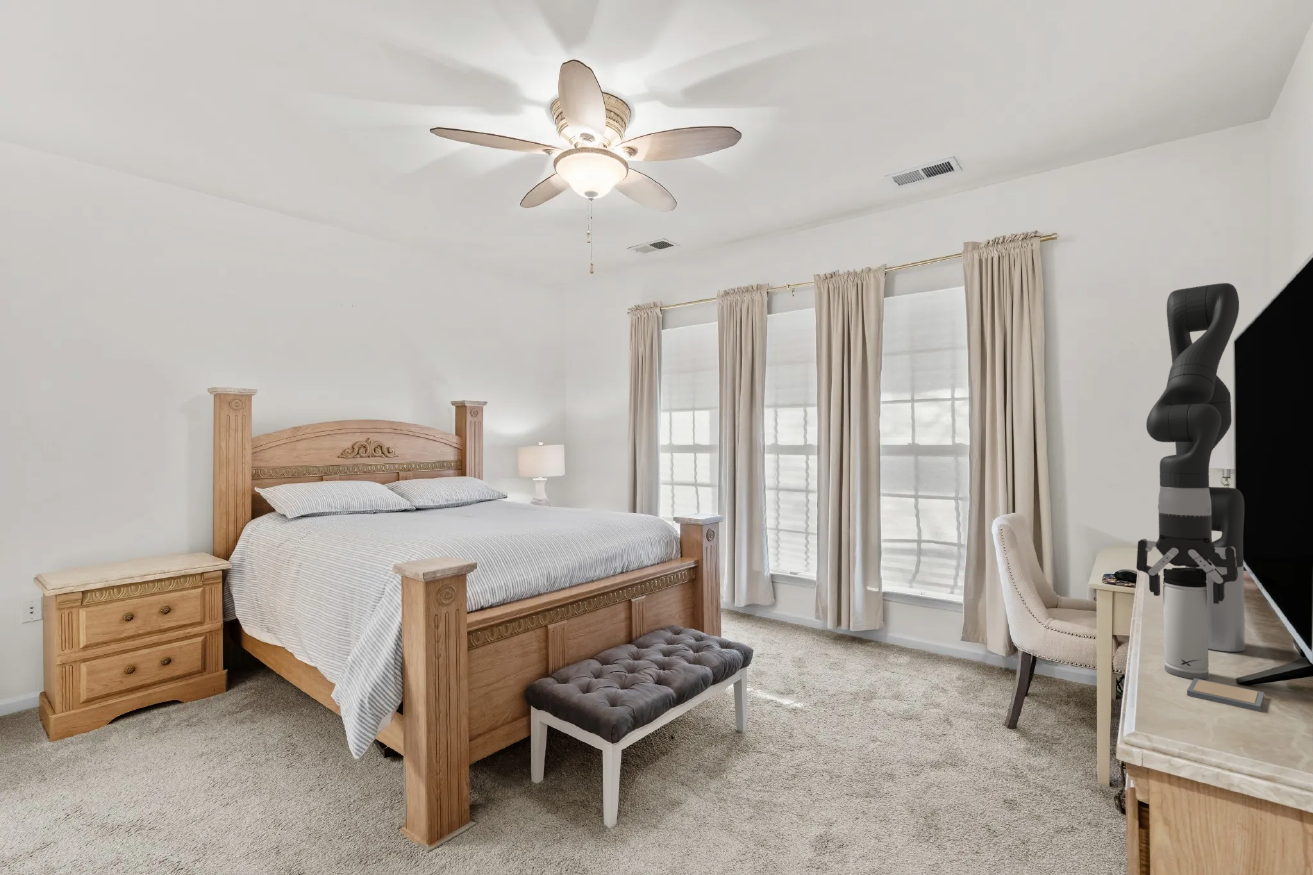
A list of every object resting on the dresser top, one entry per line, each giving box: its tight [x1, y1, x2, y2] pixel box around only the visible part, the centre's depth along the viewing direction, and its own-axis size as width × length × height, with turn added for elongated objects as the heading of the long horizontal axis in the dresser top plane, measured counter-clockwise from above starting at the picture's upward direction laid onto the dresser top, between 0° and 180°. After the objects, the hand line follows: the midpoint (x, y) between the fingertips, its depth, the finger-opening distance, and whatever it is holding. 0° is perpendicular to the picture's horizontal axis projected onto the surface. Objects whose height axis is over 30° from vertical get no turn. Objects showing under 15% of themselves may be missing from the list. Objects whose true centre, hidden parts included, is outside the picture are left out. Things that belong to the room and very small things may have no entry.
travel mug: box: [1162, 567, 1210, 680], centre depth 116 cm, size 6×7×20 cm
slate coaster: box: [1186, 678, 1265, 712], centre depth 106 cm, size 8×9×1 cm
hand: (1185, 599), depth 116 cm, fingers open, 8 cm apart
